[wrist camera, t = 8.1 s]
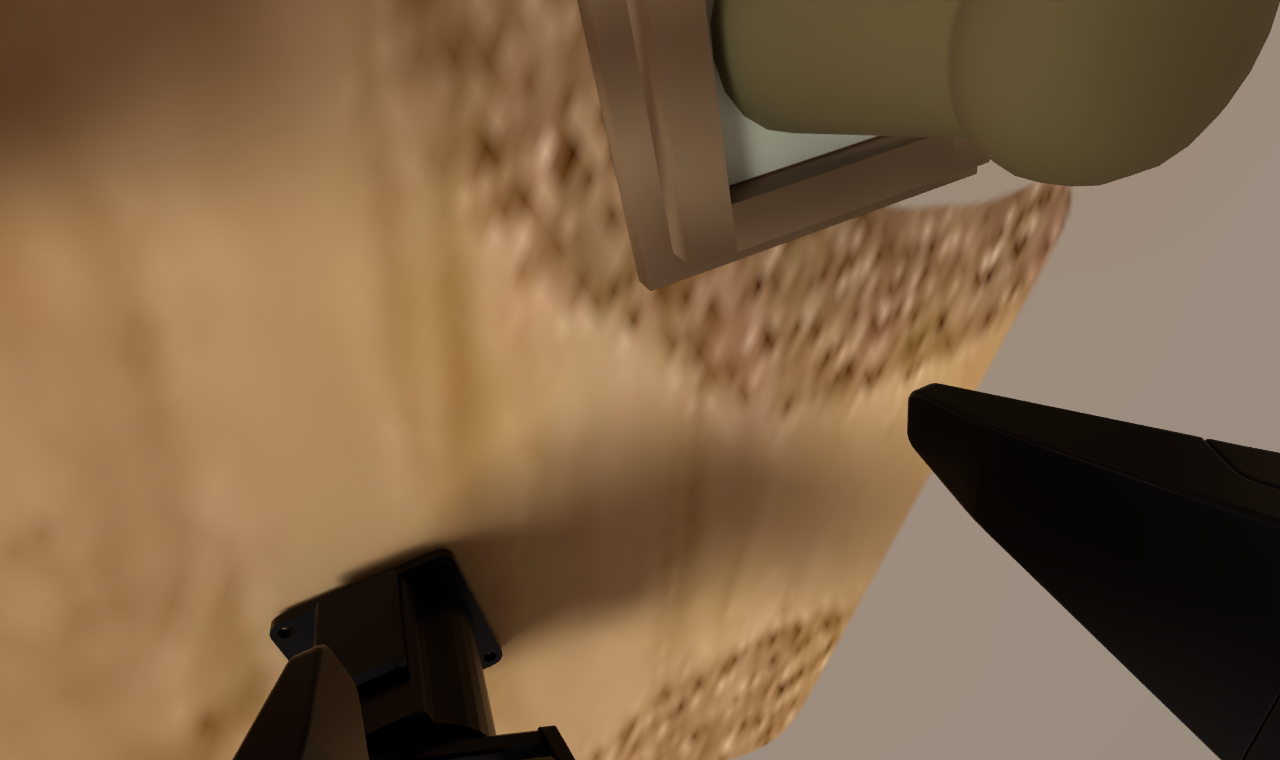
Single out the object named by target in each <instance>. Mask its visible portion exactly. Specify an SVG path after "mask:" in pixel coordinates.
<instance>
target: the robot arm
mask: <svg viewBox="0 0 1280 760" xmlns="http://www.w3.org/2000/svg"><path fill="white" fill-rule="evenodd" d="M907 434H908V438H909V441H910V443H911V445H912V447H913V448H914V449H915V451H916V452H917V453H918V454H919V455H920V457H921V458H922V459H923V460H924V461H925V462H926V464H927V465H928V466H929V467H930V468H931V470H932V471H933V472H934V473H935V474H936V476H937V477H938V478H939V479H940V480H941V482H942V483H943V484H944V485H945V486H946V487H947V489H948V490H949V491H950V492H951V493H952V495H953V496H954V497H955V498H956V499H957V501H958V502H959V503H960V504H961V505H962V506H963V508H964V509H965V510H966V511H967V512H968V513H969V514H970V515H971V517H972V518H973V519H974V520H975V521H976V522H977V523H978V524H979V525H980V526H981V527H982V528H983V529H984V530H985V531H986V532H987V533H988V534H989V535H990V536H991V537H992V538H993V539H994V540H995V541H996V542H997V543H998V544H999V545H1000V546H1001V547H1002V548H1003V549H1004V550H1006V552H1008V553H1009V554H1010V555H1011V556H1012V557H1013V558H1014V559H1015V560H1016V561H1017V562H1018V563H1019V564H1020V565H1021V566H1022V567H1023V568H1024V569H1025V570H1026V571H1027V572H1028V573H1029V574H1030V575H1031V576H1032V577H1033V578H1034V579H1035V580H1036V581H1037V582H1038V583H1039V584H1040V585H1041V586H1043V587H1044V588H1045V589H1046V590H1047V591H1048V592H1049V593H1050V594H1051V595H1052V596H1053V597H1054V598H1055V599H1056V600H1057V601H1058V602H1059V603H1060V604H1061V605H1062V606H1063V607H1064V608H1065V609H1066V610H1067V611H1068V612H1069V613H1070V614H1071V615H1072V616H1073V617H1074V618H1075V619H1076V620H1078V621H1079V622H1080V623H1081V624H1082V625H1083V626H1084V627H1085V628H1086V629H1087V630H1088V631H1089V632H1090V633H1091V634H1092V635H1093V636H1094V637H1095V638H1096V639H1097V640H1098V641H1099V642H1100V643H1101V644H1102V645H1103V646H1104V647H1106V649H1107V650H1108V651H1109V652H1110V653H1111V654H1113V655H1114V656H1115V657H1116V658H1117V659H1118V660H1119V661H1120V662H1121V663H1122V664H1123V665H1124V666H1125V667H1126V668H1127V669H1128V670H1129V671H1130V672H1131V673H1132V674H1133V675H1134V676H1135V677H1136V678H1137V679H1138V680H1139V681H1140V682H1141V683H1142V684H1143V685H1145V687H1147V689H1149V690H1150V691H1151V692H1152V693H1153V694H1154V695H1155V696H1156V697H1157V698H1158V699H1159V700H1160V701H1161V702H1162V703H1163V704H1164V705H1165V706H1166V707H1167V708H1168V709H1169V710H1170V711H1171V712H1172V713H1173V714H1174V715H1175V716H1177V718H1178V719H1180V721H1181V722H1182V723H1184V724H1185V725H1186V726H1187V727H1188V728H1189V729H1190V730H1191V731H1192V732H1193V733H1194V734H1195V735H1196V736H1197V737H1198V738H1199V739H1200V740H1201V741H1202V742H1203V743H1204V744H1205V745H1206V746H1207V747H1208V748H1209V749H1210V750H1211V751H1212V752H1213V753H1214V754H1215V755H1217V756H1218V757H1219V758H1220V759H1221V760H1280V453H1278V452H1273V451H1267V450H1262V449H1257V448H1252V447H1246V446H1241V445H1236V444H1232V443H1227V442H1222V441H1217V440H1213V439H1206V440H1204V439H1203V438H1201V437H1197V436H1192V435H1187V434H1182V433H1178V432H1172V431H1168V430H1163V429H1158V428H1153V427H1148V426H1144V425H1138V424H1134V423H1129V422H1124V421H1119V420H1114V419H1109V418H1104V417H1100V416H1095V415H1090V414H1085V413H1080V412H1075V411H1070V410H1065V409H1060V408H1055V407H1051V406H1045V405H1041V404H1036V403H1031V402H1026V401H1021V400H1016V399H1012V398H1007V397H1002V396H997V395H992V394H987V393H982V392H978V391H973V390H968V389H963V388H958V387H953V386H948V385H943V384H938V383H933V384H929V385H927V386H924V387H922V388H920V389H917V390H915V391H913V392H912V393H911V394H910V396H909V399H908V423H907ZM442 561H444V562H445V563H444V564H442V565H436V564H437V563H438V562H442ZM285 627H289V628H291V629H287V630H285V629H282V628H285ZM270 637H271V639H272V641H273V642H274V643H275V644H276V646H277V647H278V648H279V649H280V650H281V652H282V653H283V654H284V655H285V657H286V658H287V659H288V660H289V661H288V663H287V664H286V666H285V668H284V670H283V671H282V673H281V675H280V677H279V679H278V680H277V682H276V684H275V686H274V687H273V689H272V691H271V693H270V694H269V696H268V698H267V700H266V701H265V703H264V705H263V707H262V708H261V710H260V712H259V714H258V716H257V717H256V719H255V721H254V723H253V724H252V726H251V728H250V730H249V731H248V733H247V735H246V737H245V738H244V740H243V742H242V744H241V746H240V747H239V749H238V751H237V753H236V754H235V756H234V758H233V760H575V759H574V757H573V755H572V753H571V752H570V750H569V748H568V746H567V745H566V743H565V741H564V739H563V738H562V736H561V734H560V733H559V731H558V729H557V727H556V726H546V727H539V728H538V730H537V731H529V732H520V733H511V734H502V735H496V732H495V727H494V722H493V717H492V712H491V707H490V703H489V698H488V693H487V688H486V683H485V678H484V673H483V669H485V668H488V667H490V666H492V665H494V664H496V663H497V662H499V661H500V659H501V658H502V650H501V646H500V643H499V641H498V639H497V637H496V635H495V633H494V631H493V630H492V628H491V626H490V624H489V622H488V620H487V618H486V616H485V614H484V612H483V610H482V608H481V606H480V604H479V602H478V600H477V599H476V597H475V595H474V593H473V591H472V589H471V587H470V585H469V583H468V581H467V579H466V577H465V575H464V573H463V571H462V569H461V568H460V566H459V564H458V562H457V560H456V558H455V556H454V554H453V553H452V552H451V551H450V550H447V549H438V550H435V551H432V552H430V553H428V554H425V555H423V556H420V557H418V558H416V559H413V560H411V561H408V562H406V563H404V564H401V565H399V566H396V567H394V568H392V569H389V570H387V571H384V572H382V573H380V574H377V575H375V576H372V577H370V578H368V579H365V580H363V581H361V582H358V583H356V584H353V585H351V586H349V587H346V588H344V589H341V590H339V591H337V592H334V593H332V594H329V595H327V596H325V597H322V598H320V599H317V600H315V601H313V602H310V603H308V604H305V605H303V606H301V607H298V608H296V609H293V610H291V611H289V612H286V613H284V614H281V615H279V616H278V617H276V618H275V619H274V620H273V621H272V623H271V628H270ZM488 653H490V654H488Z"/></svg>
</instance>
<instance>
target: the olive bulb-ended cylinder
mask: <svg viewBox="0 0 1280 760" xmlns="http://www.w3.org/2000/svg"><path fill="white" fill-rule="evenodd" d="M1279 2H1280V0H714V6H713V12H712V17H711V34H712V47H713V60H714V63H715V66H716V68H717V71H718V74H719V77H720V79H721V82H722V85H723V87H724V90H725V93H726V94H727V95H728V96H729V98H730V99H731V100H732V101H733V103H734V104H735V105H736V107H737V108H738V109H739V110H740V112H741V113H742V114H743V115H744V116H745V117H747V118H748V119H750V120H752V121H753V122H755V123H757V124H758V125H760V126H762V127H764V128H765V129H767V130H773V131H780V132H788V133H802V134H837V135H872V136H908V137H943V138H968V140H969V142H970V144H971V146H973V147H974V148H975V149H977V150H978V151H979V152H981V153H982V154H984V155H985V156H986V157H988V158H989V159H991V160H992V161H993V162H995V163H996V164H998V165H999V166H1001V167H1002V168H1004V169H1005V170H1007V171H1009V172H1010V173H1012V174H1013V175H1015V176H1018V177H1022V178H1025V179H1029V180H1033V181H1036V182H1040V183H1048V184H1056V185H1065V186H1092V185H1093V186H1094V185H1102V184H1105V183H1108V182H1112V181H1115V180H1118V179H1121V178H1124V177H1128V176H1131V175H1134V174H1137V173H1139V172H1142V171H1145V170H1148V169H1151V168H1154V167H1157V166H1159V165H1161V164H1162V163H1164V162H1165V161H1167V160H1168V159H1170V158H1171V157H1173V156H1174V155H1176V154H1177V153H1178V152H1180V151H1181V150H1183V149H1184V148H1186V147H1187V146H1189V145H1190V144H1191V143H1192V142H1193V141H1194V140H1195V138H1197V137H1198V136H1199V135H1200V134H1201V133H1202V132H1203V131H1204V130H1205V129H1206V128H1207V126H1208V125H1209V124H1210V123H1211V122H1212V121H1213V120H1214V119H1215V118H1216V117H1217V116H1218V115H1219V114H1220V113H1221V112H1222V110H1223V109H1224V108H1225V107H1226V106H1227V104H1228V103H1229V101H1230V100H1231V99H1232V97H1233V96H1234V94H1235V93H1236V91H1237V90H1238V89H1239V87H1240V86H1241V84H1242V83H1243V81H1244V80H1245V78H1246V77H1247V76H1248V74H1249V73H1250V71H1251V69H1252V67H1253V65H1254V63H1255V61H1256V59H1257V57H1258V55H1259V53H1260V51H1261V49H1262V47H1263V45H1264V43H1265V41H1266V39H1267V37H1268V35H1269V33H1270V31H1271V28H1272V24H1273V21H1274V18H1275V15H1276V12H1277V9H1278V6H1279Z"/></svg>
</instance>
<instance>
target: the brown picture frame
mask: <svg viewBox="0 0 1280 760" xmlns="http://www.w3.org/2000/svg"><path fill="white" fill-rule="evenodd" d="M578 5H579V9H580V14H581V18H582V23H583V27H584V32H585V36H586V41H587V45H588V50H589V54H590V59H591V64H592V68H593V73H594V77H595V82H596V86H597V91H598V95H599V100H600V104H601V109H602V113H603V118H604V122H605V127H606V131H607V136H608V141H609V145H610V150H611V154H612V159H613V163H614V168H615V172H616V177H617V181H618V186H619V190H620V195H621V199H622V204H623V208H624V213H625V218H626V222H627V227H628V231H629V236H630V240H631V245H632V249H633V254H634V258H635V263H636V267H637V272H638V276H639V281H640V282H641V283H642V284H643V285H644V286H645V287H647V288H648V289H649V290H650V291H653V290H656V289H658V288H661V287H664V286H667V285H669V284H672V283H675V282H678V281H680V280H683V279H686V278H689V277H692V276H694V275H697V274H700V273H703V272H705V271H708V270H711V269H714V268H717V267H719V266H722V265H725V264H728V263H730V262H733V261H736V260H739V259H741V258H744V257H747V256H750V255H753V254H755V253H758V252H761V251H764V250H766V249H769V248H772V247H775V246H777V245H780V244H783V243H786V242H789V241H791V240H794V239H797V238H800V237H802V236H805V235H808V234H811V233H813V232H816V231H819V230H822V229H825V228H827V227H830V226H833V225H836V224H838V223H841V222H844V221H847V220H849V219H852V218H855V217H858V216H861V215H863V214H866V213H869V212H872V211H874V210H877V209H880V208H883V207H885V206H888V205H891V204H894V203H897V202H899V201H902V200H905V199H908V198H910V197H913V196H916V195H919V194H922V193H924V192H927V191H930V190H932V189H935V188H938V187H941V186H944V185H946V184H949V183H952V182H954V181H957V180H960V179H963V178H966V177H969V176H971V175H974V174H976V173H977V166H979V165H982V164H984V163H987V162H989V158H988V157H986V156H985V155H984V154H982V153H981V152H979V151H978V150H977V149H975V148H974V147H973V146H971V144H970V142H969V140H968V138H943V137H908V136H872V135H837V134H802V133H788V132H780V131H773V130H767V129H765V128H764V127H762V126H760V125H758V124H757V123H755V122H753V121H752V120H750V119H748V118H747V117H745V116H744V115H743V114H742V113H741V112H740V110H739V109H738V108H737V107H736V105H735V104H734V103H733V101H732V100H731V99H730V98H729V96H728V95H727V94H726V93H725V90H724V87H723V85H722V82H721V79H720V77H719V74H718V71H717V68H716V66H715V63H714V60H713V47H712V34H711V17H712V12H713V6H714V0H578Z"/></svg>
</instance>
